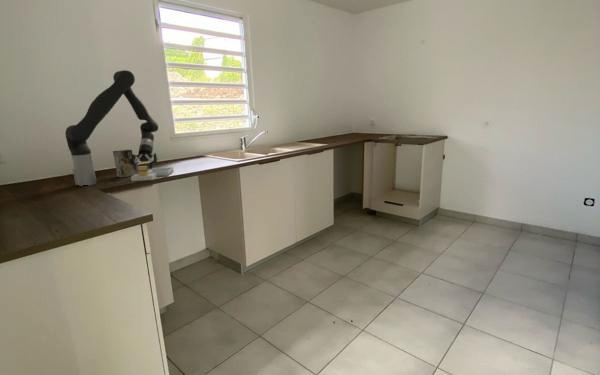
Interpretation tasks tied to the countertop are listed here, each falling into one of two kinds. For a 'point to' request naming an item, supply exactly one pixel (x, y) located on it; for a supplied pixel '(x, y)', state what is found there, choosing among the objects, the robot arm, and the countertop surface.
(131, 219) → the countertop surface
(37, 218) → the countertop surface
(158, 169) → the tray
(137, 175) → the fuse holder
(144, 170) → the fuse
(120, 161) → the coffee box
